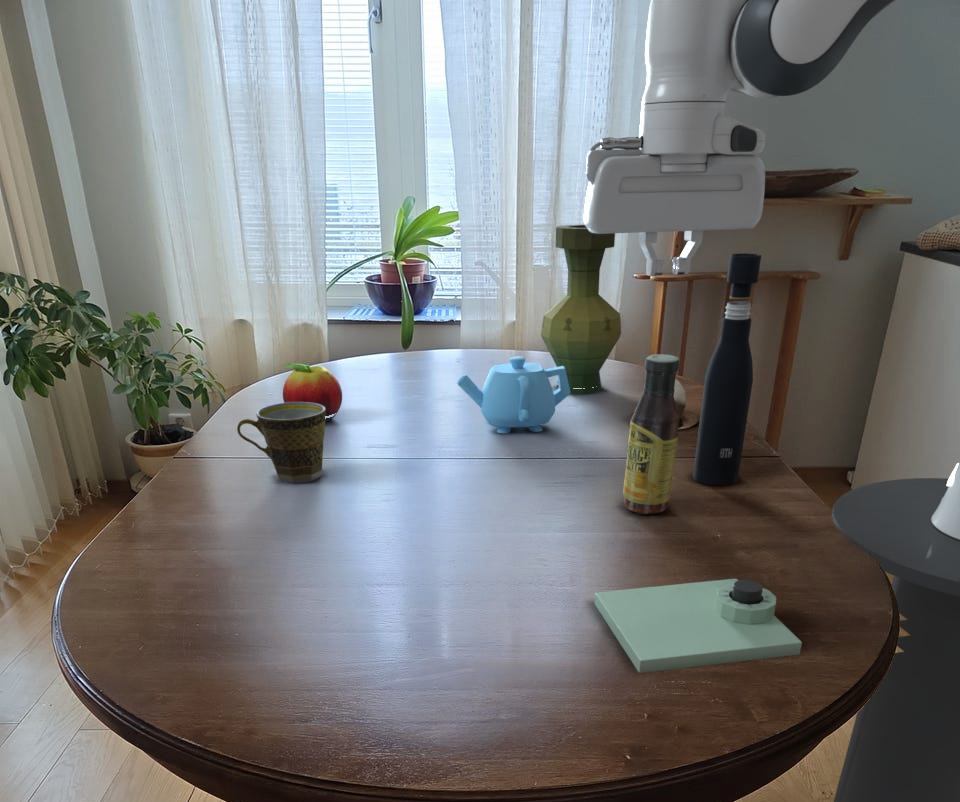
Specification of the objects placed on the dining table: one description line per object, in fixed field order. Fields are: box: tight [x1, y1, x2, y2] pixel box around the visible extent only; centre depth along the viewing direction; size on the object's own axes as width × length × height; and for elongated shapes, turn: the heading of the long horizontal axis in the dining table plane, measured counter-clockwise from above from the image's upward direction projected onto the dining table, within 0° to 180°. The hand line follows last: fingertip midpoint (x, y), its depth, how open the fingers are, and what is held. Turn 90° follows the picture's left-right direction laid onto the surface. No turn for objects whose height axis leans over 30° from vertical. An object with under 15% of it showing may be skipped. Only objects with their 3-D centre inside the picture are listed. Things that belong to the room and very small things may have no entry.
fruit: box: [282, 362, 343, 423], centre depth 149 cm, size 11×11×10 cm
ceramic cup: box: [236, 402, 326, 484], centre depth 121 cm, size 13×10×10 cm
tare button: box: [732, 579, 764, 605], centre depth 81 cm, size 3×3×2 cm
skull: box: [629, 378, 699, 430], centre depth 146 cm, size 12×10×10 cm
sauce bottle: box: [622, 353, 680, 515], centre depth 105 cm, size 6×6×20 cm
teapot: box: [456, 356, 571, 434], centre depth 143 cm, size 20×17×12 cm
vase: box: [540, 224, 622, 395], centre depth 161 cm, size 16×16×30 cm
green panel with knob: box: [593, 578, 803, 674], centre depth 81 cm, size 16×14×3 cm
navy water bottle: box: [692, 252, 762, 487], centre depth 112 cm, size 6×6×30 cm
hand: (667, 274), depth 96 cm, fingers closed
